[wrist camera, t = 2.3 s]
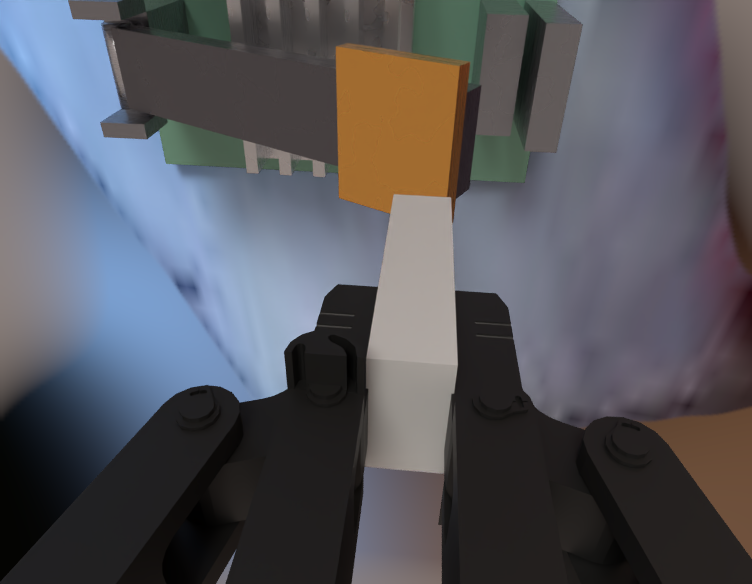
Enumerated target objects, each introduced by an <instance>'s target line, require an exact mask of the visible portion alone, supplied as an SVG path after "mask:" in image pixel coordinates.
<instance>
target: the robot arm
mask: <svg viewBox="0 0 752 584" xmlns="http://www.w3.org/2000/svg"><path fill="white" fill-rule="evenodd" d="M284 355H285V366H286V376H287V387H288V389H286V390H285V391H284V392H281V393H279V394H277V395H275V396H272V397H268V398H264V399H259V400H253V401H247V402H241V403H239V401H238V400H237V398H236V397H235V396H234V394H232V392H230V391H228V390H226V389H224V388H222V387H218V386H208V385H205V386H198V387H192V388H189V389H187V390H184V391H182V392H180V393H177V394H175V395H174V396H173V397H172V398H170V399H169V400H168V401H167V402H165V403H164V404H163V405H162V406H161V407H160V409H159V410H158V411H157V412H156V413H155V414H154V415H153V416H152V417H151V418H150V419H149V421H148V422H147V423H146V424H145V425H144V426H143V427H142V428H141V429H140V430H139V431H138V433H137V434H136V435H135V436H134V437H133V438H132V439H131V440H130V441H129V442H128V443H127V445H126V446H125V447H124V448H123V449H122V450H121V451H120V452H119V453H118V454H117V455H116V457H115V458H114V459H113V460H112V461H111V462H110V463H109V464H108V465H107V466H106V467H105V469H104V470H103V471H102V472H101V473H100V474H99V475H98V476H97V477H96V478H95V479H94V481H93V482H92V483H91V484H90V485H89V486H88V487H87V488H86V489H85V490H84V492H83V493H82V494H81V495H80V496H79V497H78V498H77V499H76V500H75V501H74V503H73V504H72V505H71V506H70V507H69V508H68V509H67V510H66V511H65V512H64V514H63V515H61V517H60V518H59V519H58V520H57V521H56V522H55V523H54V524H53V525H52V526H51V528H50V529H49V530H48V531H47V532H46V533H45V534H44V535H43V536H42V537H41V538H40V540H39V541H38V542H37V543H36V544H35V545H34V546H33V547H32V548H31V549H30V550H29V552H28V553H27V554H26V555H25V556H24V557H23V558H22V559H21V560H20V561H19V562H18V563H17V565H16V566H15V567H14V568H13V569H12V570H11V571H10V572H9V573H8V574H7V575H6V577H5V578H4V579H3V580H2V581H1V582H0V584H216V583H217V581H218V579H219V577H220V576H221V574H222V572H223V571H224V569H225V567H226V566H227V564H228V562H229V561H230V559H231V557H232V555H233V554H234V552H235V550H236V552H235V556H234V559H233V562H232V565H231V568H230V571H229V574H228V578H227V581H226V584H351V583H352V575H353V568H354V559H355V552H356V544H357V537H358V529H359V521H360V514H361V506H362V498H363V473H364V467H374V468H385V469H397V470H407V471H418V472H429V473H440V474H443V472H444V487H443V495H442V502H441V509H440V516H439V525H442V584H752V559H751V557H750V556H749V555H748V553H747V552H746V551H745V549H744V548H743V546H742V545H741V544H740V542H739V541H738V540H737V538H736V537H735V536H734V534H733V533H732V532H731V530H730V529H729V527H728V526H727V525H726V523H725V522H724V520H723V519H722V518H721V516H720V515H719V514H718V512H717V511H716V510H715V508H714V507H713V505H712V504H711V503H710V501H709V500H708V499H707V497H706V496H705V494H704V493H703V492H702V490H701V489H700V488H699V486H698V485H697V484H696V482H695V481H694V479H693V478H692V477H691V475H690V474H689V473H688V471H687V470H686V469H685V467H684V466H683V464H682V463H681V462H680V461H679V459H678V458H677V456H676V455H675V453H674V452H673V451H672V449H671V448H670V447H669V445H668V444H667V443H666V442H665V441H664V440H663V439H662V438H661V437H660V436H659V435H658V434H657V433H656V432H655V431H653V430H652V429H650V428H648V427H647V426H645V425H643V424H641V423H640V422H636V421H633V420H630V419H627V418H624V417H604V418H600V419H597V420H594V421H593V422H592V423H591V424H590V425H589V426H588V427H587V428H586V429H585V430H584V429H581V428H577V427H574V426H571V425H568V424H565V423H562V422H560V421H557V420H555V419H552V418H550V417H548V416H547V415H545V414H543V413H542V412H540V411H539V410H538V409H536V408H535V407H534V405H533V403H532V401H531V398H530V397H529V396H528V395H527V394H526V393H525V392H524V391H523V389H522V385H521V379H520V373H519V367H518V362H517V356H516V350H515V345H514V340H513V333H512V327H511V322H510V316H509V310H508V307H507V306H506V305H505V303H504V302H503V301H502V300H501V299H500V297H499V296H498V295H497V294H496V293H481V292H467V291H455V283H454V257H453V232H452V207H451V197H434V196H416V195H398V194H394V195H393V201H392V207H391V213H390V219H389V225H388V231H387V237H386V243H385V249H384V255H383V261H382V267H381V273H380V279H379V285H378V287H370V286H356V285H341V284H338V285H337V286H335V287H334V288H333V289H332V290H331V291H330V292H329V293H328V294H327V295H326V296H325V298H324V301H323V304H322V307H321V311H320V314H319V317H318V321H317V326H316V327H315V331H312V332H309V333H305V334H302V335H300V336H299V337H297V338H296V339H294V340H293V341H291V342H290V344H289V345H288V347H287V348H286V349H285V351H284Z"/></svg>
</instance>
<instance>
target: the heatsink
mask: <svg viewBox="0 0 752 584" xmlns="http://www.w3.org/2000/svg"><path fill="white" fill-rule="evenodd" d="M226 1H227V10H228V18H229V26H230V35H231V42H235V43H241V44H247V45H253V46H259V47H264V48H270V49H276V50H282V51H287V52H293V53H299V54H305V55H310V56H316V57H322V58H328V59H334V60H336V46H339V45H343V44H346V43H352V44H359V45H365V46H372V47H378V48H385V49H391V50H398V51H404V52H411V53H413V39H414V20H415V1H416V0H226ZM243 143H244V152H245V160H246V169H247V173H257V174H259V172H260V171H261V169H262V168H263V166H264V165H265V163H266V162H267V160H268V159H269V158H275V159H279V168H280V175H292V174H293V172H294V170H295V168H296V167H297V165H298V163H299V161H300V160H313V159H309V158H306V157H302V156H299V155H295V154H291V153H288V152H284V151H281V150H277V149H273V148H270V147H266V146H263V145H259V144H255V143H252V142H248V141H245V140H243ZM329 167H330V164H327V163H324V162H320V161H317V160H313V177H325V176H326V174H327V171H328V169H329Z"/></svg>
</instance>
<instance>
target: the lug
mask: <svg viewBox="0 0 752 584" xmlns="http://www.w3.org/2000/svg"><path fill="white" fill-rule="evenodd" d="M582 26H583V24H581V23H580V22H579V21H578V20H577V19H575V18H574V17H573V16H572V15H570V14H569V13H568V12H567V11H565V10H564V9H563V8H562V7H560V6H559V5H558V4H557V3H555V2H554V1H537V0H525V3H524V9H523V7H522V6H521V5H520V4H519V3H518V2H517V0H480V8H479V17H478V27H477V36H476V45H475V54H474V63H473V72H472V81H471V83H472V84H478V85H482V86H481V95H480V103H479V111H478V119H477V128H476V135H491V136H510V134H511V128H512V121H513V120H514V123H515V126H516V129H517V132H518V134H519V137H520V140H521V143H522V146H523V149H524V151H530V152H550V153H556V151H557V146H558V141H559V136H560V132H561V127H562V122H563V117H564V112H565V108H566V103H567V98H568V93H569V88H570V83H571V79H572V74H573V69H574V64H575V59H576V55H577V50H578V45H579V40H580V35H581V30H582Z"/></svg>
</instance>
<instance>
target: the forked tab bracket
mask: <svg viewBox="0 0 752 584" xmlns="http://www.w3.org/2000/svg"><path fill="white" fill-rule="evenodd" d="M68 2H69V5H70V9H71V13H72V17H73V19H88V20H104V22H108V21H129V22H131V24H132V25H137V26H143V27H149V28H155V29H160V30H166V31H172V32H178V33H184V34H189V29H188V22H187V16H186V10H185V3H184V0H68ZM100 123H101V127H102V131H103V135H104V137H113V138H133V139H148V138H149V137H151V136H152V135H153V134H154V133H156V132H157V131H158V130H159V129H161V128H162V127H163V126H164V125H166V124H167V123H168V121H167V119H165V118H162V117H158V116H155V115H151V114H148V113H144V112H140V111H137V110H124V109H121V110H119V111H117V112H116V113H114V114H113V115H111V116H109V117H108V118H106V119H105V120H103V121H102V122H100Z"/></svg>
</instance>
